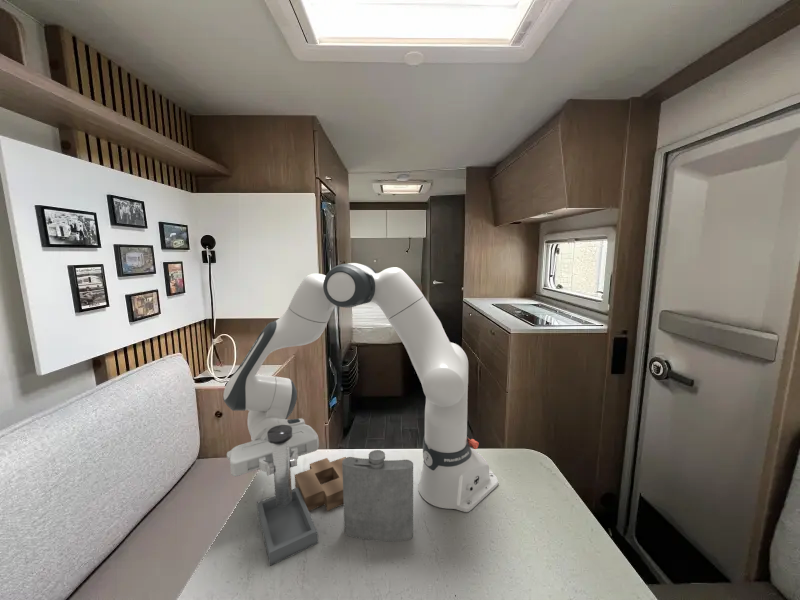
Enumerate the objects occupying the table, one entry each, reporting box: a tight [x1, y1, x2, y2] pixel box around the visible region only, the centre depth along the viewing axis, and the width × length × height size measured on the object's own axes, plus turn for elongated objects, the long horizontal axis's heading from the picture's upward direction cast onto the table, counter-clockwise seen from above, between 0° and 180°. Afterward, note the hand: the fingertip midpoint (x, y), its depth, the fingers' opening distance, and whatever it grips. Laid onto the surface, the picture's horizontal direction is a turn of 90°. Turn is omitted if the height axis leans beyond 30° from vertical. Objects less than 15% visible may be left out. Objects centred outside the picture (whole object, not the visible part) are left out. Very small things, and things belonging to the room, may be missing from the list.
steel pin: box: [267, 425, 292, 507], centre depth 74 cm, size 5×5×18 cm
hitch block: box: [294, 456, 347, 512], centre depth 88 cm, size 15×15×4 cm
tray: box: [256, 487, 319, 567], centre depth 76 cm, size 10×16×3 cm, turn 32°
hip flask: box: [342, 449, 414, 542], centre depth 73 cm, size 16×4×20 cm, turn 85°
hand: (282, 467), depth 73 cm, fingers closed on steel pin, 4 cm apart
